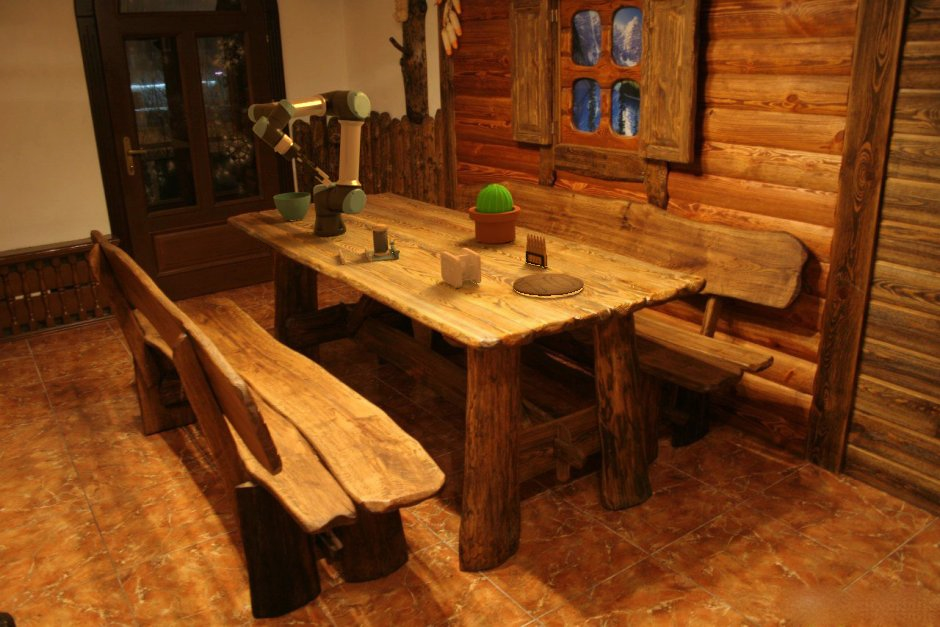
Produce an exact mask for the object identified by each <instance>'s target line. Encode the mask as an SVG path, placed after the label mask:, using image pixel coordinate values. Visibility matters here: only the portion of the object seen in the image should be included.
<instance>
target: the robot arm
mask: <svg viewBox="0 0 940 627" xmlns="http://www.w3.org/2000/svg"><path fill="white" fill-rule="evenodd" d="M371 107H372V106H371V102H370V99H369V97H368V96H367V94H366V93H365V92H363V91H360V90H354V89H353V90H340V89H338V90H332V91H327V92H323V93H317V94H313V96H312V97H304V98H298V99H291V100H288V99H284V98H283V99H280V101H275V102H268V103H262V104H261V103H256V104H252V105H250V106H249V107H248V109H247V116H248V119H249V120H250V121H251V122H254V123H255V124H254V125H253V126H252V131H253V132H254V134H256V136H258V137H259V138H260V139H261V140H263V142H265V143H266V144H268V145H269V146H270V147H271V148H272V149H274V152H275V153H277V152H278V153H279V154H280V155H282V157H283V158H285V159H286V160H287V161H288V162H291V161H292V160H293V159H295V162H296V164H298V165H299V166H300V167H302V168H304V169H305V170H306V171H307V172H308V173H310V175H311V176H312V178H313V179H317V181H319V182H320V183H321V184H317V185H315V186H313V191H312V192H313V194H312V196H313V203H314V211H315V212H314V214H315V220H314V225H313V230H312V231H313V235H314V236H316V235H317V237H333V236H332V235H337V236H340V235H339V234H341V235H344V234H346V233H347V226H346V224H345V221H344V219H343V217H342V214H345V215H347V216H349V215H352V216H353V215H359V213H361V212H362V211H363V210H364V209H365V207H366V204H367V195H366V193H365V192H364V190H362V184H361V183H360V181H359V176H360V175H359V171H360V153H361V152H360V150H361V149H360V148H361V131H362V130H361V128H362V126H363V125H364V124H365V121H366V120H365V119H366V118H367V117H369V115H370V113H371ZM310 116H317V117H335V118H336V117H337V121H338V123H339V124H340V147H339V148H340V151H339V169H338V170H339V171H338V180H337V181H336V182H335V181H334V182H332V181H331V180H330V176H329V175H327V174H326V173H325V172H324V171H323V170H321V168H319V167H318V164H316V163H313V162H312V161H311V160H310V159H308V158H307V157H306V156H305V155H304V154H303V153H301V152H300V150H301V146H300V145H299V144H297V143H296V142H294V141H293V139H292V138H291V137H289V135H287V134H286V133H284V131H283V130H284V128H285V127H286V126H287V124H288V123H289V122H290V121H291V120H292V119H296V118H304V117H310ZM345 232H346V233H345ZM343 233H344V234H343Z"/></svg>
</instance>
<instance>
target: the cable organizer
mask: <svg viewBox="0 0 940 627" xmlns="http://www.w3.org/2000/svg"><path fill="white" fill-rule="evenodd" d="M439 256H440V270H441V271H440V272H441V273H440V274H441V278H442V280H443V281H444V282H445V281H446V282H445V283H447V284H448V283H449V285H451V286H452V287H453V286H454V287H453V288H455V289H459V288H461V287H462V286H463V284H464V281H465V280H468V279H469V280H468V281H469V282H472V283H473V282H474V283H476V284H475V285H478V284H480V283H481V282H482V264H481V263H482V262H481V256H480V254H479V253H477V252H476V251H473V250H472V249H470V248H467V247H462V248H460V254H459V255H458V254H457V255H454V254H452V253H451V252H449V251H446V250H445V251H441V252H440V255H439ZM474 283H473V284H474ZM477 283H478V284H477Z"/></svg>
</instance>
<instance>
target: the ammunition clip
mask: <svg viewBox="0 0 940 627" xmlns="http://www.w3.org/2000/svg"><path fill="white" fill-rule="evenodd" d="M525 248H526V250H525V263H526V262H527V263H531V264H535V265H540V266H543V267H545V266H547V267H548V254H547V244H546V238H545V237H542V236H540V237H539V235H537V236H536V234H534V235H533V234H530V233H527V236H526V246H525ZM527 263H526V264H527Z"/></svg>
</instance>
